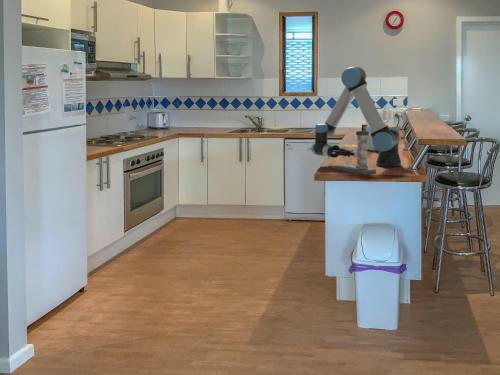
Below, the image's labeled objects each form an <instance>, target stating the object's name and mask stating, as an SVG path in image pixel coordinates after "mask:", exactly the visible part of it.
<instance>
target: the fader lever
mask: <svg viewBox="0 0 500 375" xmlns="http://www.w3.org/2000/svg"><path fill="white" fill-rule="evenodd" d="M355 135H356V136H357V138H356V142H357V143H356V145H357V146H356V152H357V157H356V165H355V166H356V168H358V169H366V168H369V166H368V150H367V135H369V132H368V131H362V130H358V131H356V132H355Z"/></svg>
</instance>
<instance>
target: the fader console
mask: <svg viewBox="0 0 500 375" xmlns="http://www.w3.org/2000/svg"><path fill="white" fill-rule="evenodd" d="M356 166H357V165H351V164H350V165H349V164H340V165H339V164H338V165H333V170H338V171H342V170H343V171H342V172H348V171H349V173H355V174H360V175H361V174H362V175H369V173H370V174H376V173H377V169H375V168H371V167H368V168H366V169H358V168H356Z"/></svg>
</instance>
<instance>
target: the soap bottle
mask: <svg viewBox="0 0 500 375" xmlns="http://www.w3.org/2000/svg"><path fill="white" fill-rule="evenodd" d="M367 125H368V124H367ZM366 131H368V132H369V135H367V151H373V152H376V151H378V150H377V149H376V148H375V147H374V146H373V139H372V137H371V135H370V132H371V129H370V127H369V125H368V126H366Z"/></svg>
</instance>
